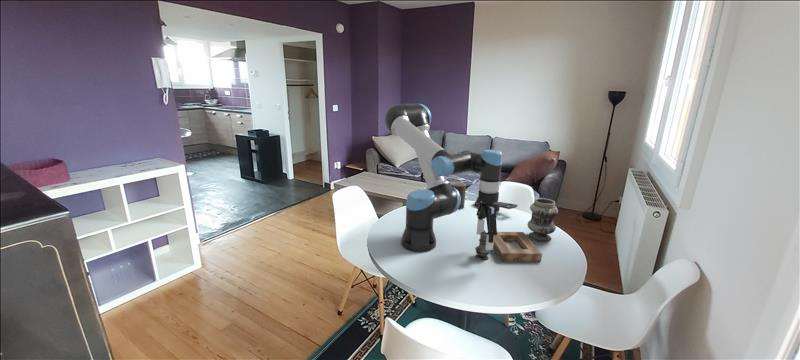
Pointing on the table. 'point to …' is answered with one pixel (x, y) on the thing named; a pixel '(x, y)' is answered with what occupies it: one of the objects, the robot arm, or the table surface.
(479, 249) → the stone chess piece
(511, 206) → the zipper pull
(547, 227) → the apothecary jar
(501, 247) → the block
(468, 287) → the table surface
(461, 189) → the pillar candle
